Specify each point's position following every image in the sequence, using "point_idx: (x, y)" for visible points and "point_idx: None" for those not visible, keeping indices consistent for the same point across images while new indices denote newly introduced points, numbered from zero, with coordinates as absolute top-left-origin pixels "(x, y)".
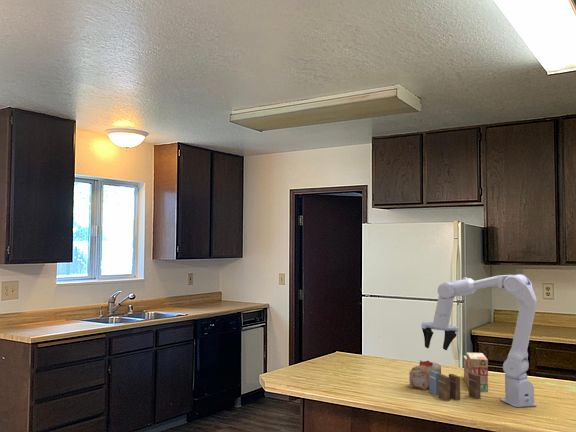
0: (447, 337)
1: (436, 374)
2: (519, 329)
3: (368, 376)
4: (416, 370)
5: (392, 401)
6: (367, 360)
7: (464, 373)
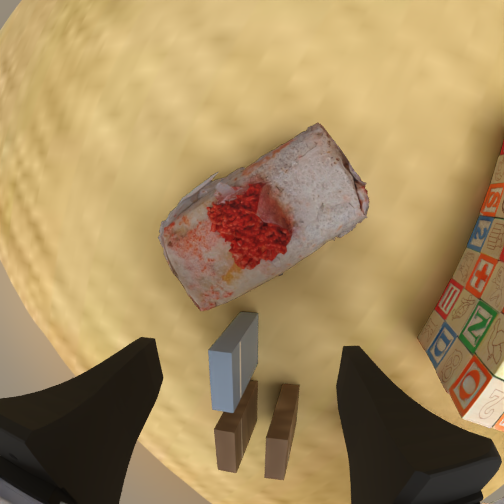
0: (364, 475)
1: (217, 406)
2: None
3: (130, 35)
4: (172, 271)
5: (94, 360)
6: None
7: None
